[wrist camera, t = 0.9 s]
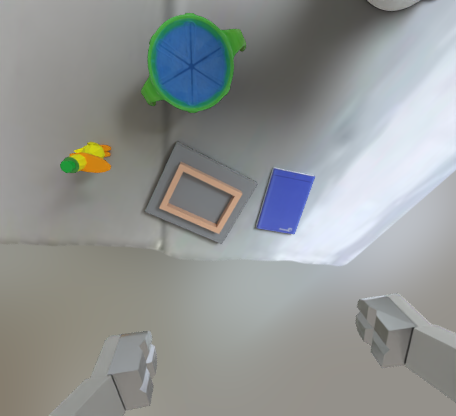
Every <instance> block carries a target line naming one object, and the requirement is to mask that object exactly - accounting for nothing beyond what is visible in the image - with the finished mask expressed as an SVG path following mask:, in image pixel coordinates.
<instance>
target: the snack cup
mask: <svg viewBox="0 0 456 416" xmlns="http://www.w3.org/2000/svg"><path fill="white" fill-rule="evenodd" d="M149 44H150V46H149V50H148V69H149V78H148V80H147V81H146V83H145V84H144V86H143V88H142V90H141V93H142V95H143V96H144V98H145V99H146V101H147V103H148V104H149V105H151V106H155V105H156V101H159V100H165V101H167V102H168V103H169V104H171V105H173V106H174V107H176V108H178V109H181V110H185V111H188V112H189V113H197V112H198V111H202V110H205V109H208V108H211V107H212V106H214V105H215V104H217V103H218V102H219V101H220V100H221V99H222V98H223V97H224V96H225V95H227V93H228V92H229V90H230V84H231V81H232V78H233V71H234V61H233V59H234V56H235V54H236V53H237V52H238V51H239V50H240V51H244V50H245V48H246V42H245V40H244V37H243V35H242V32H241V30H240V29H229V30H220V29H219V28H218V27H217V26H216V25H215V24H213V23H212V22H211V21H209V20H207V19H206V18H204V17H201V16H197V15H195V14H194V13H185V15H179V16H175V17H173V18H171V19H169V20H167V21H166V22H164V23H163V24H162V25H161V26H160V27H159V28H158V30H157V31H156V33H155V34H154V35H153V36H152V37H151V40H150V42H149Z"/></svg>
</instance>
